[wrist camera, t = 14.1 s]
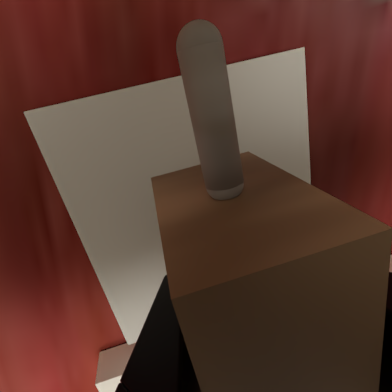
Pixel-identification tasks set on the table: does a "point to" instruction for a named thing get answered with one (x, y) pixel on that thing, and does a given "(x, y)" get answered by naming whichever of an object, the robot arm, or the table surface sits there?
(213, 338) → the joystick
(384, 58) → the table surface
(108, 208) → the tool mat
